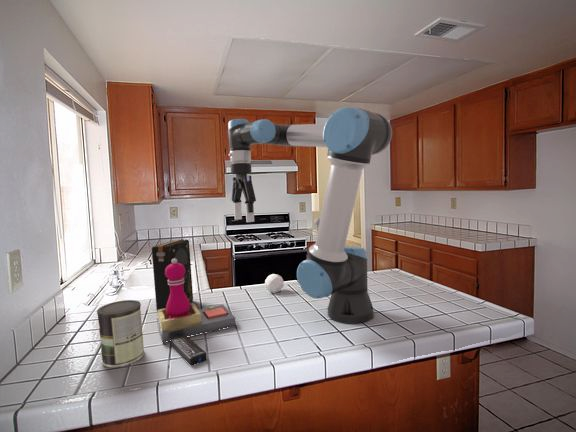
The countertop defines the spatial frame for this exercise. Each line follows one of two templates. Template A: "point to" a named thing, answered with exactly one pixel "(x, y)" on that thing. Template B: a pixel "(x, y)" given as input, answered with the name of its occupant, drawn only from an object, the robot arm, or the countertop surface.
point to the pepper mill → (176, 290)
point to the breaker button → (215, 313)
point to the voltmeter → (163, 258)
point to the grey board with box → (192, 323)
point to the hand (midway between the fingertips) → (244, 220)
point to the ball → (274, 283)
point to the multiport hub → (189, 350)
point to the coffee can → (120, 333)
